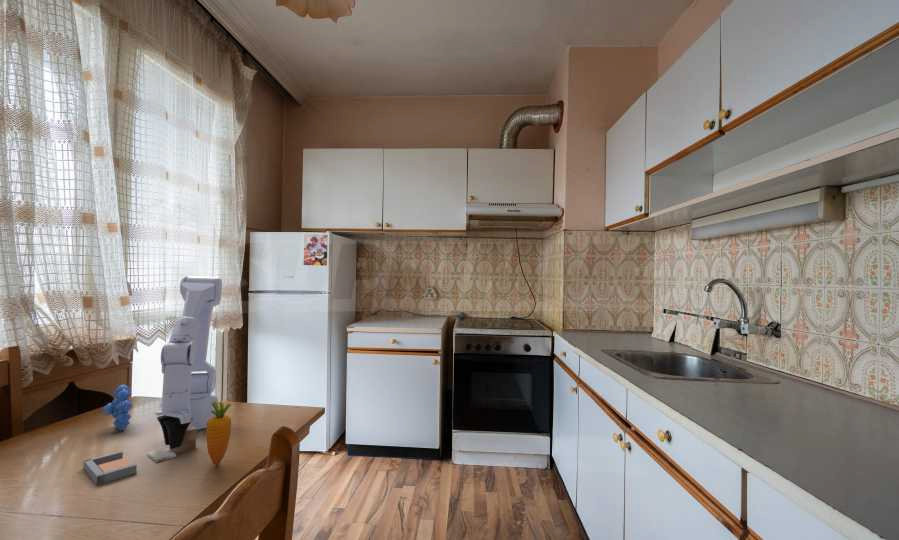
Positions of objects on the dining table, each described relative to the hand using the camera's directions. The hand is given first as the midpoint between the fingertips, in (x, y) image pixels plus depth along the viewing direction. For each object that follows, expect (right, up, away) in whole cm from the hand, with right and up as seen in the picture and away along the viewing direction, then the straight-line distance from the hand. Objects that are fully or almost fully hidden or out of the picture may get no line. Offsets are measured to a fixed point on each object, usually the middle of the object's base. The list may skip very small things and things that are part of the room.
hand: (173, 445), depth 96 cm
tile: (-7, -2, -9) cm, 11 cm away
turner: (0, -2, 0) cm, 2 cm away
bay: (-7, -1, -9) cm, 12 cm away
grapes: (-26, -2, +14) cm, 29 cm away
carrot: (+14, -2, -6) cm, 16 cm away
